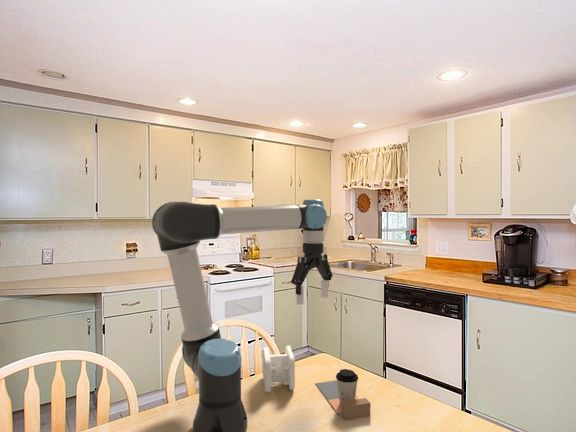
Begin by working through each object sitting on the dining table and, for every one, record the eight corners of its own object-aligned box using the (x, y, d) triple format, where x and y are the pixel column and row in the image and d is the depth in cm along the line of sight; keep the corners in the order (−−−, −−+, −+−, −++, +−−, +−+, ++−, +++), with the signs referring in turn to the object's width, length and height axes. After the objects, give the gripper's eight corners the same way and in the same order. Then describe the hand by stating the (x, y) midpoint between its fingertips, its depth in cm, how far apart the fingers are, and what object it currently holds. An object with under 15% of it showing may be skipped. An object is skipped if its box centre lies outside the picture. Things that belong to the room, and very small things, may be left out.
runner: (373, 415, 112) (373, 402, 112) (342, 420, 109) (342, 407, 109) (341, 380, 134) (341, 369, 134) (315, 384, 132) (315, 372, 132)
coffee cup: (362, 407, 116) (362, 375, 116) (343, 412, 113) (343, 379, 113) (350, 396, 122) (350, 366, 122) (331, 401, 120) (331, 370, 119)
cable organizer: (295, 394, 125) (295, 360, 124) (263, 396, 123) (263, 361, 123) (290, 374, 139) (289, 343, 139) (261, 376, 138) (261, 345, 138)
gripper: (326, 239, 148) (326, 293, 148) (281, 243, 130) (280, 304, 130) (342, 240, 142) (341, 296, 143) (297, 245, 125) (296, 308, 125)
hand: (312, 300), depth 137 cm, fingers open, 13 cm apart
